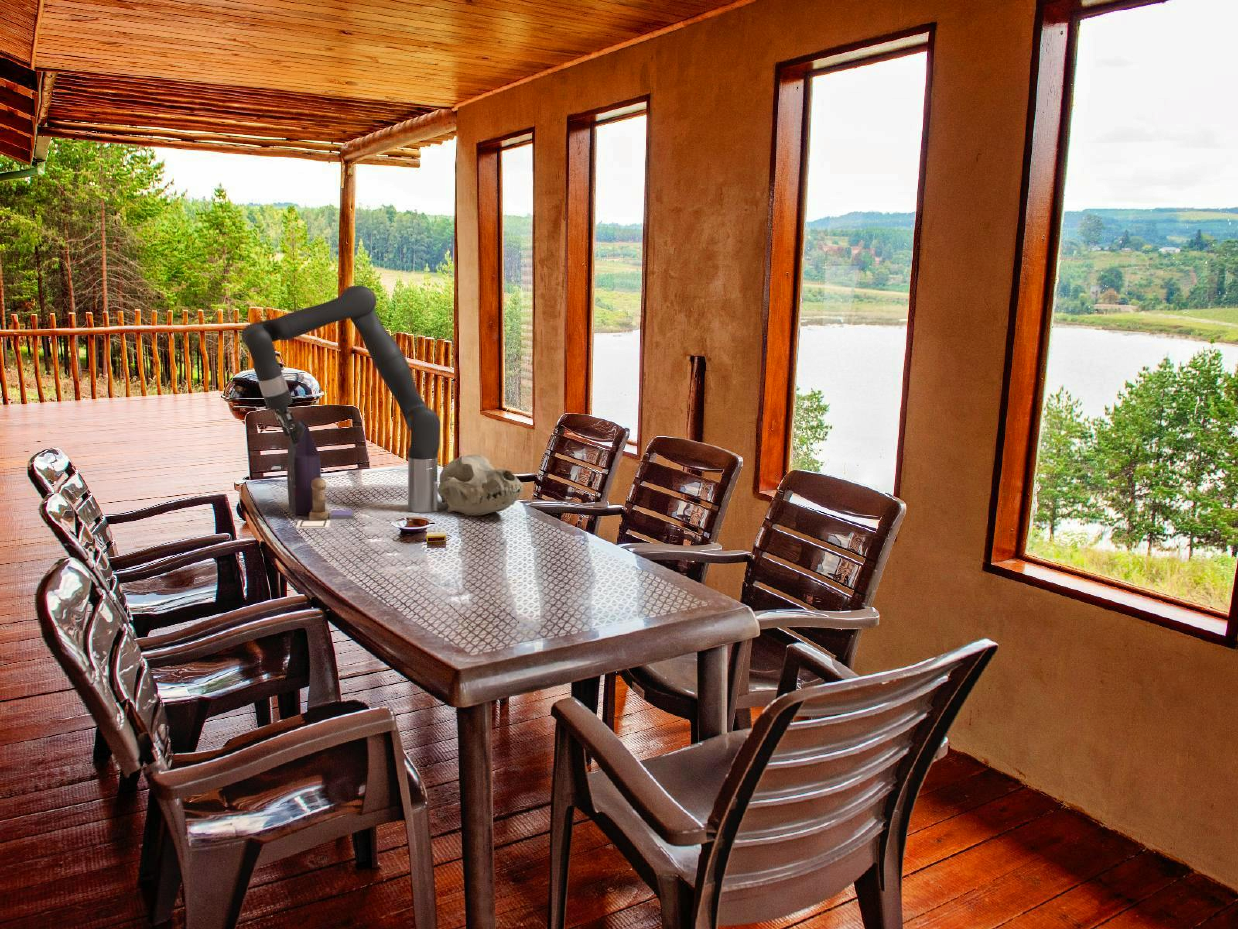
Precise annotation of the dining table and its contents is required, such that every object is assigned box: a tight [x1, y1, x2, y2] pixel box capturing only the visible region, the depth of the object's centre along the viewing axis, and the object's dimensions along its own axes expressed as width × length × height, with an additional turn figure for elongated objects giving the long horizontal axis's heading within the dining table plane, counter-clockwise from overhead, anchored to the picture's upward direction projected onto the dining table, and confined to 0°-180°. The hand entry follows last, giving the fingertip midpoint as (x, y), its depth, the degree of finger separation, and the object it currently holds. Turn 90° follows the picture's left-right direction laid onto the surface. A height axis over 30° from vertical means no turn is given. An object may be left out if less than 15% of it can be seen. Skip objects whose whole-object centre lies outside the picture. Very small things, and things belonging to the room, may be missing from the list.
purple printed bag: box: [286, 419, 322, 518], centre depth 292 cm, size 8×16×28 cm, turn 27°
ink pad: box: [328, 509, 355, 520], centre depth 289 cm, size 7×7×1 cm
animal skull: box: [438, 453, 524, 517], centre depth 301 cm, size 22×35×22 cm, turn 51°
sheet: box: [295, 519, 331, 530], centre depth 278 cm, size 9×8×1 cm
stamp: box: [309, 477, 329, 521], centre depth 284 cm, size 5×5×13 cm
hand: (292, 438), depth 285 cm, fingers open, 8 cm apart
